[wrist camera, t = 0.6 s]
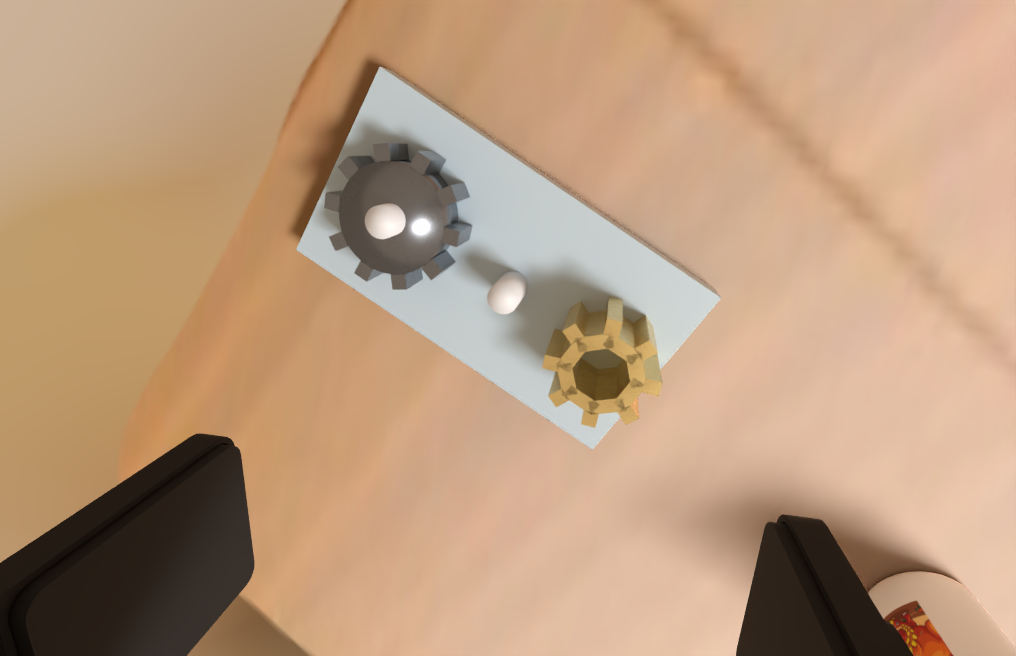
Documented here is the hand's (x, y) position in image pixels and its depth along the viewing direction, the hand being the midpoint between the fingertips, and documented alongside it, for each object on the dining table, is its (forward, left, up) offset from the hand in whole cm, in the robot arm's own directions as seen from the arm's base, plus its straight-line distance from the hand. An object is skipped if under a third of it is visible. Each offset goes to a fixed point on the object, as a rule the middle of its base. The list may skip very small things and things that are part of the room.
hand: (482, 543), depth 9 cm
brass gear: (+4, +5, -27) cm, 28 cm away
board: (+4, -4, -29) cm, 30 cm away
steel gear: (+4, -11, -27) cm, 30 cm away
